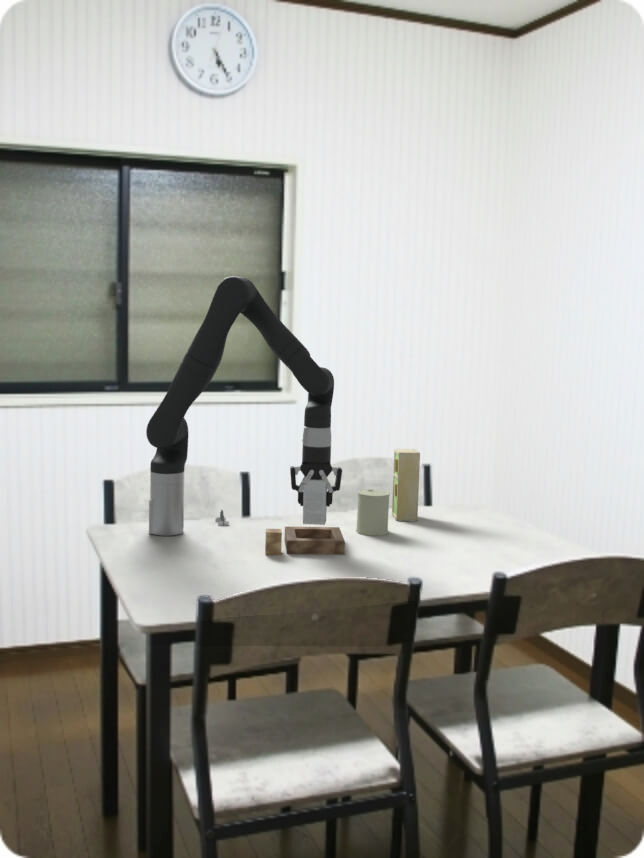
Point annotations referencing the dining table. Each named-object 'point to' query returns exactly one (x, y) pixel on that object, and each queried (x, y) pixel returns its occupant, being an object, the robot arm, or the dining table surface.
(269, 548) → the short oak peg
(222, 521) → the grey spired figurine
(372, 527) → the can
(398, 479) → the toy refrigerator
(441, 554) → the dining table surface
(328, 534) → the brown wooden square frame
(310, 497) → the skincare box
